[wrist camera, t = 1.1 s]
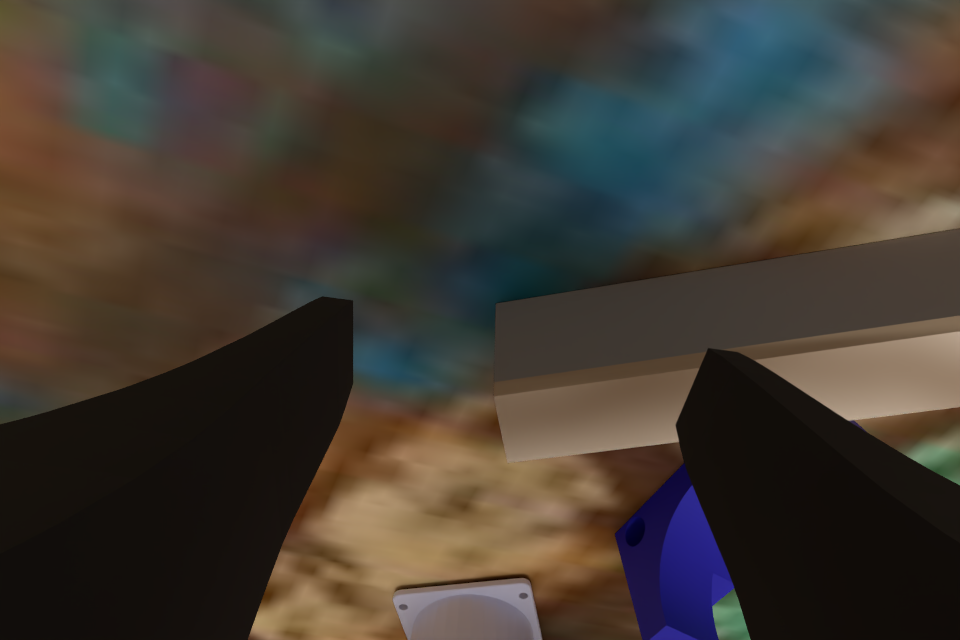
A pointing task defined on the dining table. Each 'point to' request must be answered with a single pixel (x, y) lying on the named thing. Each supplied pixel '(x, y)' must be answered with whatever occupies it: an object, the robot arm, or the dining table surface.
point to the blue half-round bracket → (674, 564)
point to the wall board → (730, 343)
